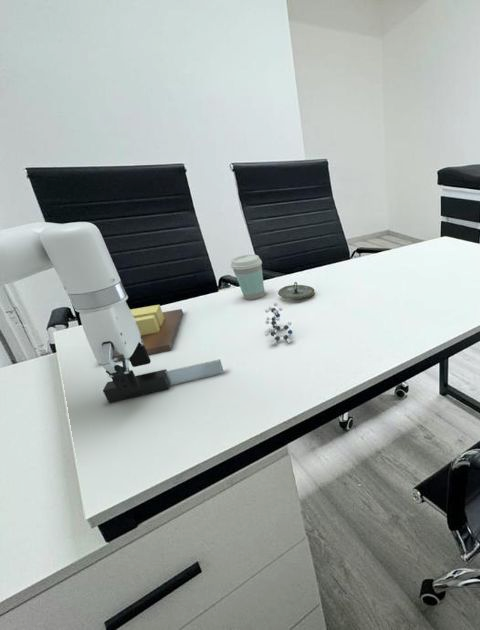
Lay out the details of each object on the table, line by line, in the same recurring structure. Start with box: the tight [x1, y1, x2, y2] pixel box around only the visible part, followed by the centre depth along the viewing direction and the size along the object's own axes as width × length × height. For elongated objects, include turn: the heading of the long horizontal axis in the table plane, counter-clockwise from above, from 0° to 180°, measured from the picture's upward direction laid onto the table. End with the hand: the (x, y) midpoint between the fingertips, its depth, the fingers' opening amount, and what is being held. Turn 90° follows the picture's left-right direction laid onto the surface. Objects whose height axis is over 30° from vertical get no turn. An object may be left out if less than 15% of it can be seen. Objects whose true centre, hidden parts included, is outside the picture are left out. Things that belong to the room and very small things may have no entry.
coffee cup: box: [230, 254, 265, 301], centre depth 116 cm, size 8×8×12 cm
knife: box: [102, 359, 225, 404], centre depth 77 cm, size 20×3×3 cm, turn 112°
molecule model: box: [264, 302, 293, 346], centre depth 93 cm, size 6×12×8 cm, turn 31°
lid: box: [277, 281, 315, 300], centre depth 115 cm, size 11×10×5 cm
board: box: [99, 308, 184, 366], centre depth 97 cm, size 14×22×2 cm, turn 22°
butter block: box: [130, 304, 164, 326], centre depth 99 cm, size 7×5×4 cm
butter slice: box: [134, 315, 160, 335], centre depth 94 cm, size 7×2×4 cm, turn 112°
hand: (136, 377), depth 74 cm, fingers open, 9 cm apart
